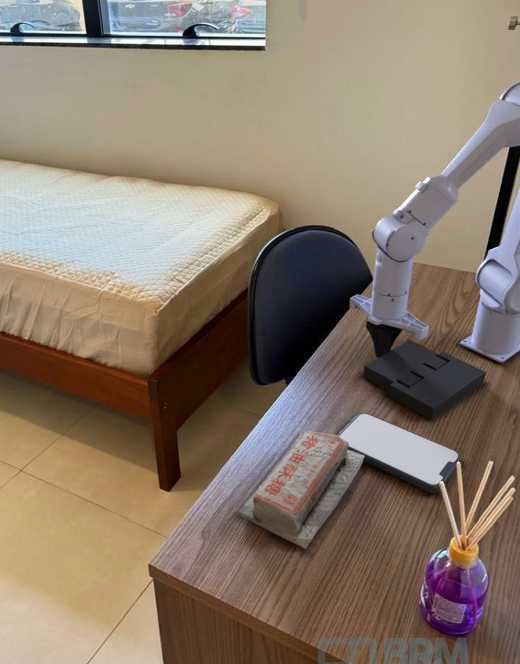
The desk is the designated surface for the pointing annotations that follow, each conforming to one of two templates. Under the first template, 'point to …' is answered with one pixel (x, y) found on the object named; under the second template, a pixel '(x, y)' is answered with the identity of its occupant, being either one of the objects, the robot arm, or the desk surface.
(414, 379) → the loose pad
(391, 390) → the pad
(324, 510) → the packaged product
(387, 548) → the desk surface
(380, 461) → the smartphone
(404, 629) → the desk surface
